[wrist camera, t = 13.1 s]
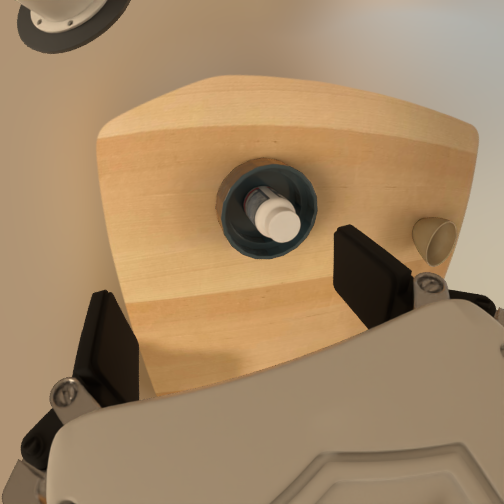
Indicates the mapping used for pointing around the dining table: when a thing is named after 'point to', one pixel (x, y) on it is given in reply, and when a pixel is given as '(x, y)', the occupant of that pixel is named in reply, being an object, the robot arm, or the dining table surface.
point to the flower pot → (434, 239)
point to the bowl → (239, 224)
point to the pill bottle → (271, 214)
